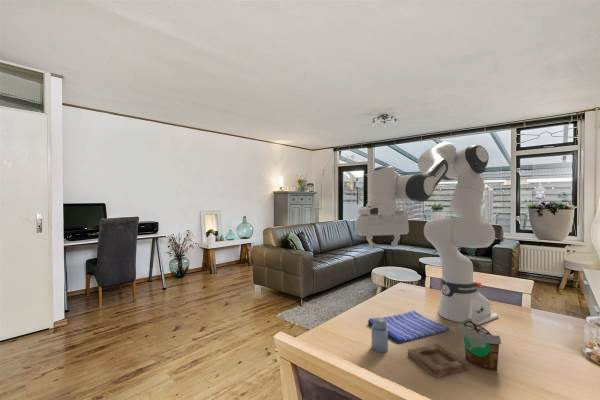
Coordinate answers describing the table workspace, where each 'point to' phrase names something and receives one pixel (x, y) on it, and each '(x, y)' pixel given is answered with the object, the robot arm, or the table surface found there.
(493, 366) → the food container
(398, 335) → the dish towel
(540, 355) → the table surface
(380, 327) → the blue-grey shaker
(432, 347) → the square wooden frame
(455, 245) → the robot arm
